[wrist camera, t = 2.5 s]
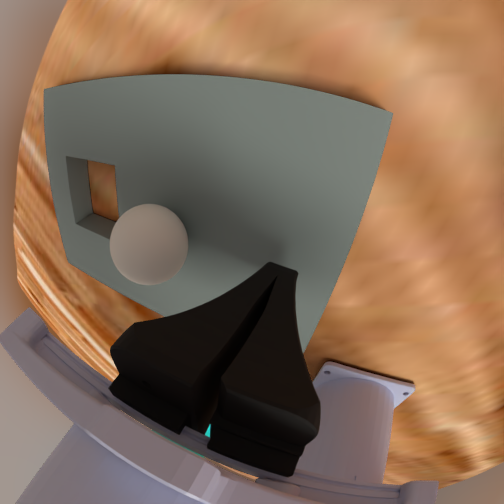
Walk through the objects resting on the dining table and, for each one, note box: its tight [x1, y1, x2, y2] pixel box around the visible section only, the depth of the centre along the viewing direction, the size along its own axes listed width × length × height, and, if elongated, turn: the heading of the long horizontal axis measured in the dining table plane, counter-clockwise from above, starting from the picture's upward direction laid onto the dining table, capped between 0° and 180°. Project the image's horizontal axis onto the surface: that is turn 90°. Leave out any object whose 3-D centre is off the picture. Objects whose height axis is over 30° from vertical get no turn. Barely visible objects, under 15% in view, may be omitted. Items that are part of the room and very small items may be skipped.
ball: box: [110, 204, 188, 285], centre depth 13 cm, size 4×4×4 cm
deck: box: [44, 74, 393, 353], centre depth 16 cm, size 16×22×2 cm
